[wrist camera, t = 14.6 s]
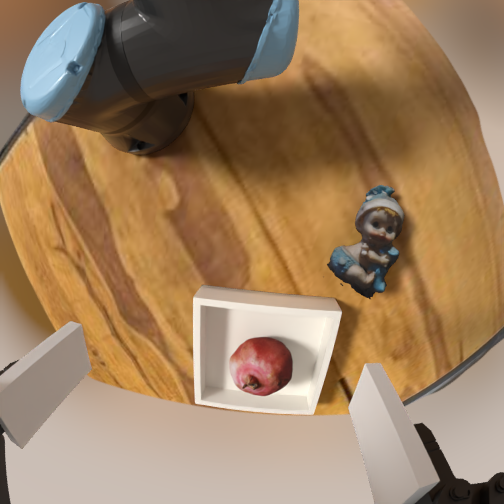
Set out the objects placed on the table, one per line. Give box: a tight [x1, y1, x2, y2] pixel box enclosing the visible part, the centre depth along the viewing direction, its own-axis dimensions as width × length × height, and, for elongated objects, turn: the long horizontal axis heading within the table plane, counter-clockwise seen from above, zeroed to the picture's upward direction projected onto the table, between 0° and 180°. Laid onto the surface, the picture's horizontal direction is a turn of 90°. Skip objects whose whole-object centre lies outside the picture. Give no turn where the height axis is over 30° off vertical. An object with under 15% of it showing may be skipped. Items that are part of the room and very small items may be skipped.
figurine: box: [327, 185, 404, 299], centre depth 33 cm, size 9×8×15 cm
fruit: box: [229, 337, 293, 396], centre depth 36 cm, size 9×10×10 cm
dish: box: [193, 285, 342, 415], centre depth 40 cm, size 20×20×5 cm
